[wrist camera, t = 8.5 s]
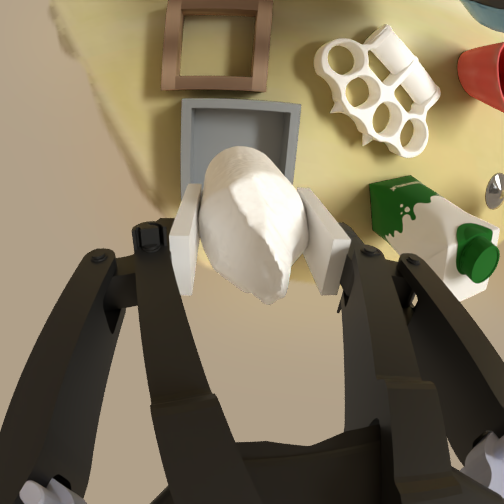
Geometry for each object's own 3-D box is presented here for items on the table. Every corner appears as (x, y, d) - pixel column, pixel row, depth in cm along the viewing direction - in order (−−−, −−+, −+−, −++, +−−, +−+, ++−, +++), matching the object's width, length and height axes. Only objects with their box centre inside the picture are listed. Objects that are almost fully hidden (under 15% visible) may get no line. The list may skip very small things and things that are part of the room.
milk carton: (415, 167, 36) (517, 231, 19) (415, 224, 41) (498, 304, 24) (362, 178, 37) (456, 255, 19) (366, 237, 41) (440, 332, 24)
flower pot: (498, 69, 28) (541, 76, 19) (481, 120, 32) (525, 134, 24) (460, 28, 25) (505, 25, 17) (441, 81, 30) (488, 86, 21)
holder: (172, 5, 24) (168, -2, 21) (269, 7, 25) (273, 0, 23) (166, 90, 29) (160, 90, 27) (262, 92, 31) (266, 91, 28)
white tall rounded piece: (158, 231, 9) (332, 189, 9) (194, 155, 20) (274, 136, 19) (212, 355, 12) (342, 326, 12) (216, 231, 23) (289, 214, 22)
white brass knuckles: (443, 107, 32) (383, 174, 37) (361, 8, 25) (288, 79, 30) (458, 110, 29) (395, 181, 34) (373, 2, 22) (294, 77, 27)
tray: (187, 98, 30) (181, 98, 26) (292, 103, 31) (301, 104, 28) (186, 195, 36) (181, 208, 32) (282, 198, 37) (289, 211, 33)
